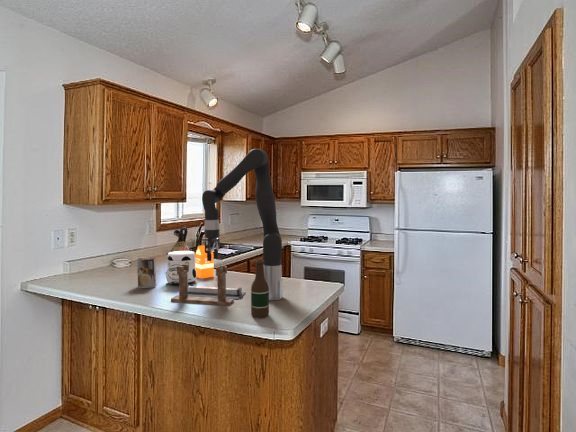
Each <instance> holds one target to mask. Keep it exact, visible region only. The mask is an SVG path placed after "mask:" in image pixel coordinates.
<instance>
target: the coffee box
mask: <svg viewBox="0 0 576 432" xmlns="http://www.w3.org/2000/svg"><path fill="white" fill-rule="evenodd" d="M136 263H137V265H136V266H137V289H147V288H149V289H150V288H156V286H157V279H156V277H157V275H156V273H157V271H156V257H139V258H137V260H136Z"/></svg>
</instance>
